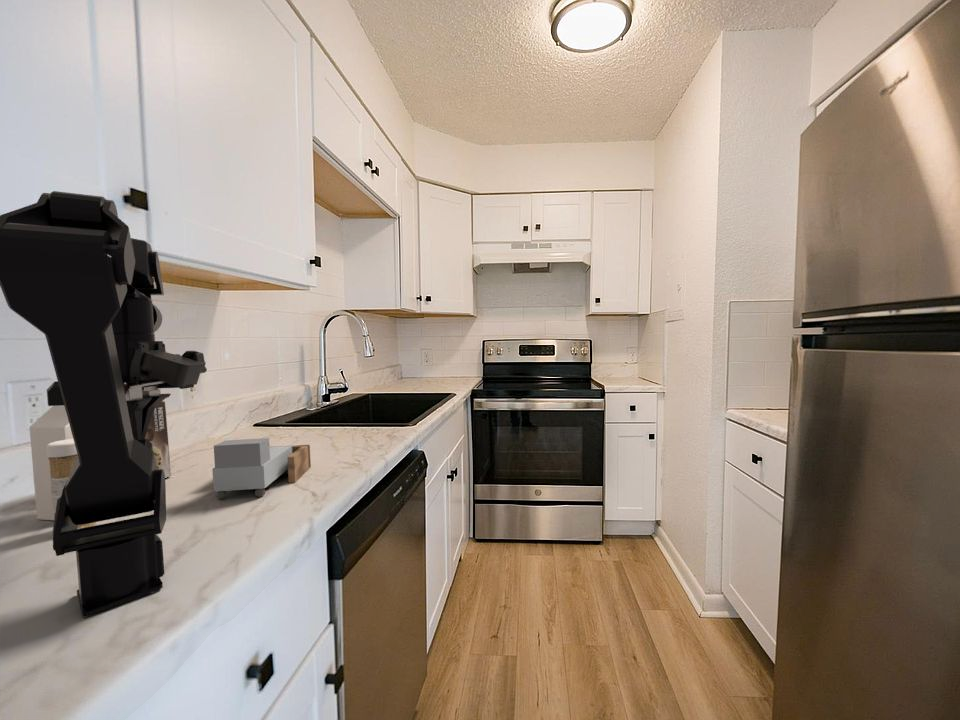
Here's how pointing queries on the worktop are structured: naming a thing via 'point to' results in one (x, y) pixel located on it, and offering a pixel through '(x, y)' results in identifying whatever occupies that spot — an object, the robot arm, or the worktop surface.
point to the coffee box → (160, 438)
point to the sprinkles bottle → (61, 468)
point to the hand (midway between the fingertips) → (136, 447)
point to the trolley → (248, 465)
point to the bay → (298, 462)
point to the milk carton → (41, 434)
